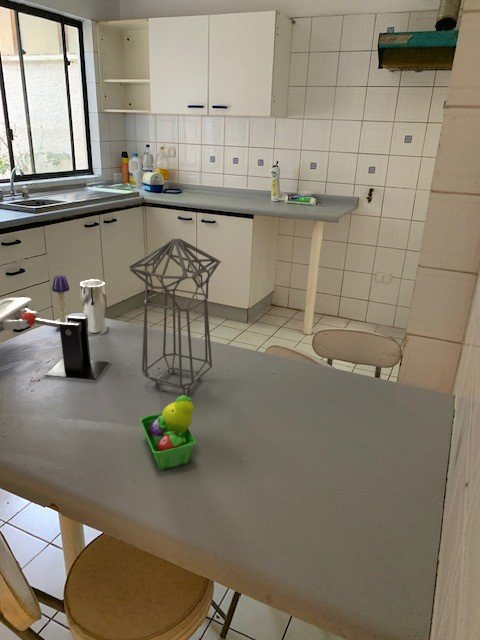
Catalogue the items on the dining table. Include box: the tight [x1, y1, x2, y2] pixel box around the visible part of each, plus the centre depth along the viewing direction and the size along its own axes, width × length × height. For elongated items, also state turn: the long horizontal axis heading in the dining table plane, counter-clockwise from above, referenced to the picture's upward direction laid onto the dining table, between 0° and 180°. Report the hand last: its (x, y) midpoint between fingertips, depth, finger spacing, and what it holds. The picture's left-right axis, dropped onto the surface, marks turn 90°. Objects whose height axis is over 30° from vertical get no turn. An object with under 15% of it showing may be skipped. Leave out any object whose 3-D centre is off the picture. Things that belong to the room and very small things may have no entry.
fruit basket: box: [139, 394, 196, 470], centre depth 84 cm, size 11×9×11 cm
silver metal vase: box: [79, 279, 108, 336], centre depth 132 cm, size 7×7×15 cm
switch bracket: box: [44, 315, 110, 381], centre depth 110 cm, size 12×9×14 cm
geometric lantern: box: [127, 238, 222, 396], centre depth 102 cm, size 16×16×35 cm
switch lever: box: [20, 312, 82, 332], centre depth 108 cm, size 14×4×4 cm, turn 85°
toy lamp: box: [51, 274, 70, 333], centre depth 132 cm, size 5×5×17 cm
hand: (32, 320), depth 108 cm, fingers closed on switch lever, 3 cm apart
